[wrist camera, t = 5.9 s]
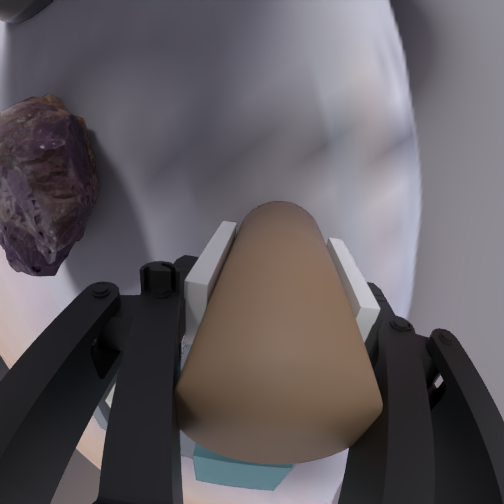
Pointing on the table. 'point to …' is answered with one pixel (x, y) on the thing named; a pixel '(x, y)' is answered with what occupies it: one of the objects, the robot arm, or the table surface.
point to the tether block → (275, 358)
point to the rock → (43, 184)
